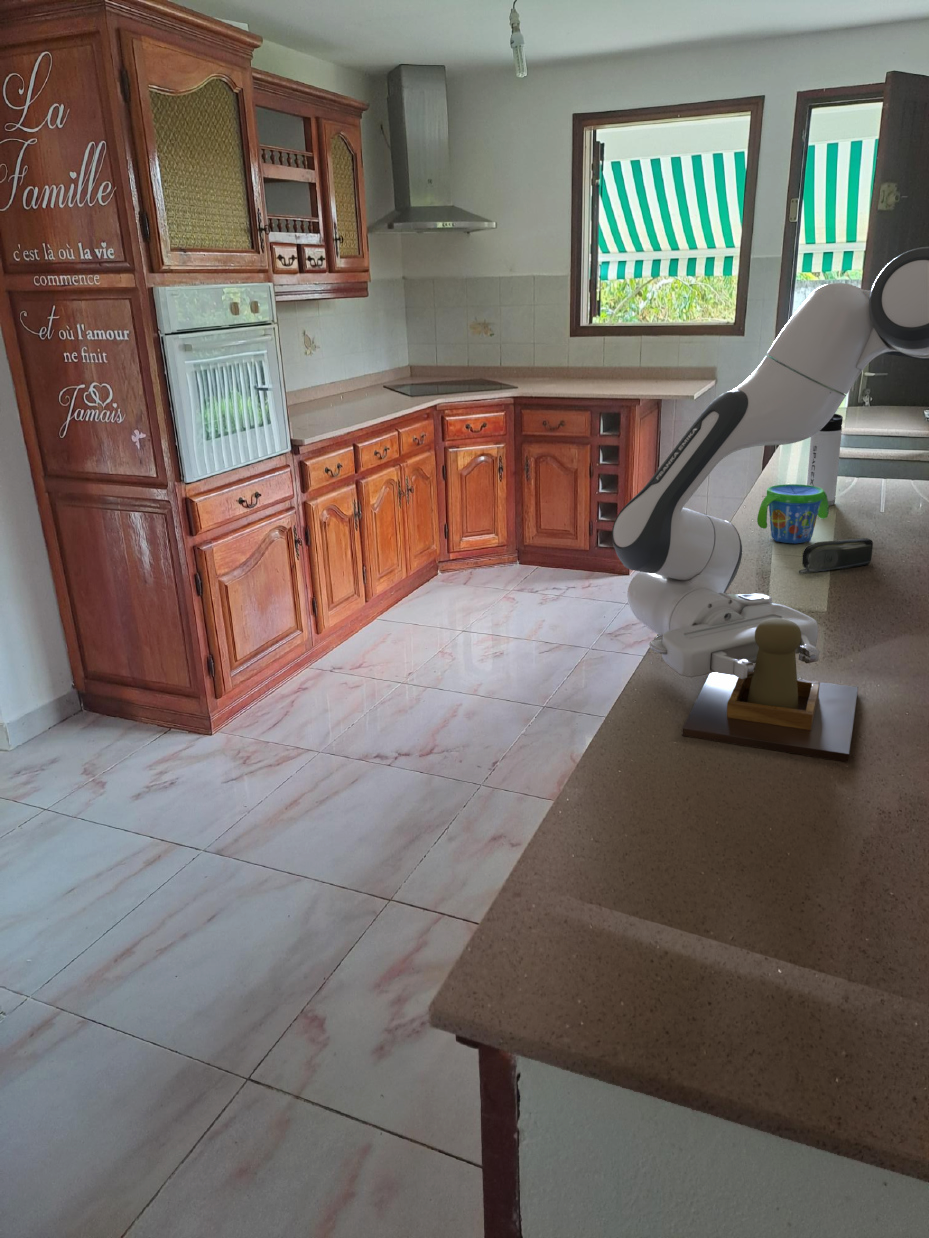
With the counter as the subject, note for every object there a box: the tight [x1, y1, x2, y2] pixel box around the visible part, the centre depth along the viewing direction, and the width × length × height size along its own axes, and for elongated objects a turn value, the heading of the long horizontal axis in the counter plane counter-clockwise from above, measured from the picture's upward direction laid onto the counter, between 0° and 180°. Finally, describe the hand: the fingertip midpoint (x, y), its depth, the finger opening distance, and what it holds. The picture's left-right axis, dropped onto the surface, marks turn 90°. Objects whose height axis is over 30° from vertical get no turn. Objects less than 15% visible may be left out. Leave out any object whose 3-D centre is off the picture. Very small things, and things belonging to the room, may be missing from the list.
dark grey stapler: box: [798, 537, 874, 575], centre depth 156 cm, size 5×3×15 cm
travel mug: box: [806, 413, 844, 507], centre depth 197 cm, size 6×7×20 cm
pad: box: [681, 672, 859, 763], centre depth 106 cm, size 18×18×3 cm
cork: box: [747, 618, 801, 710], centre depth 105 cm, size 6×6×11 cm
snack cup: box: [756, 483, 830, 545], centre depth 173 cm, size 16×10×10 cm
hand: (782, 664), depth 104 cm, fingers open, 8 cm apart
